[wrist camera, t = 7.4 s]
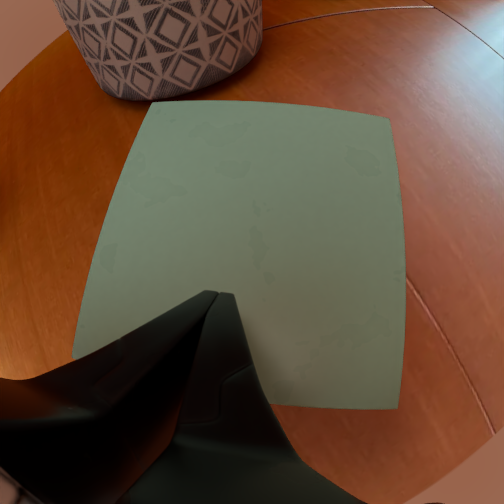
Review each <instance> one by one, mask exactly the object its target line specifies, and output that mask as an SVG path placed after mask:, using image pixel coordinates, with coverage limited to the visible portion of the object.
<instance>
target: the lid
mask: <svg viewBox="0 0 504 504" xmlns="http://www.w3.org/2000/svg"><path fill="white" fill-rule="evenodd" d="M204 290H212V291H218V292H219V293H220V292H227V293H233V294H234V295H235V299H236V303H237V306H238V310H239V313H240V317H241V320H242V324H243V327H244V331H245V335H246V338H247V341H248V345H249V348H250V352H251V355H252V359H253V362H254V365H255V368H256V372H257V375H258V378H259V381H260V384H261V386H262V389H263V391H264V394H265V396H266V398H267V400H268V402H269V404H278V405H288V406H299V407H313V408H330V409H397V408H398V402H399V395H400V386H401V377H402V367H403V355H404V340H405V318H406V260H405V238H404V223H403V211H402V200H401V191H400V182H399V174H398V167H397V160H396V153H395V147H394V141H393V135H392V130H391V124H390V119H389V118H385V117H380V116H374V115H369V114H363V113H357V112H351V111H345V110H338V109H331V108H323V107H315V106H306V105H296V104H284V103H271V102H254V101H218V100H203V101H168V102H153V103H152V104H151V106H150V108H149V110H148V112H147V114H146V116H145V118H144V121H143V123H142V125H141V127H140V129H139V132H138V134H137V136H136V138H135V141H134V143H133V145H132V148H131V150H130V152H129V155H128V157H127V160H126V162H125V165H124V167H123V170H122V172H121V175H120V178H119V180H118V183H117V185H116V188H115V191H114V194H113V196H112V199H111V202H110V205H109V208H108V211H107V214H106V217H105V220H104V223H103V226H102V229H101V232H100V236H99V239H98V242H97V246H96V249H95V253H94V256H93V260H92V263H91V267H90V271H89V275H88V279H87V283H86V287H85V291H84V295H83V299H82V304H81V309H80V313H79V318H78V323H77V328H76V334H75V339H74V345H73V351H72V358H74V359H76V360H77V359H79V358H81V357H84V356H86V355H88V354H90V353H92V352H94V351H96V350H98V349H100V348H102V347H104V346H106V345H108V344H109V343H111V342H113V341H115V340H117V339H120V337H122V336H124V335H126V334H127V333H129V332H131V331H133V330H135V329H136V328H138V327H140V326H142V325H143V324H145V323H147V322H149V321H151V320H152V319H154V318H156V317H158V316H159V315H161V314H163V313H165V312H167V311H168V310H170V309H172V308H174V307H175V306H177V305H179V304H181V303H182V302H184V301H186V300H188V299H190V298H191V297H193V296H195V295H197V294H198V293H200V292H202V291H204Z"/></svg>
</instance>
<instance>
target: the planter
mask: <svg viewBox="0 0 504 504" xmlns="http://www.w3.org/2000/svg"><path fill="white" fill-rule="evenodd" d="M53 2H54V3H55V5H56V7H57V9H58V11H59V13H60V15H61V17H62V19H63V21H64V23H65V25H66V27H67V28H68V30H69V32H70V34H71V36H72V38H73V40H74V41H75V43H76V45H77V47H78V49H79V51H80V52H81V54H82V56H83V58H84V60H85V61H86V63H87V65H88V67H89V69H90V70H91V72H92V74H93V76H94V77H95V79H96V81H97V83H98V84H99V86H100V87H101V89H102V90H103V91H105V92H106V93H107V94H109V95H111V96H113V97H116V98H119V99H123V100H131V101H149V100H159V99H165V98H171V97H175V96H180V95H184V94H187V93H191V92H194V91H197V90H200V89H203V88H205V87H208V86H210V85H213V84H215V83H217V82H219V81H221V80H223V79H225V78H227V77H229V76H231V75H233V74H234V73H236V72H237V71H239V70H240V69H242V68H243V67H244V66H245V65H247V64H248V63H249V62H250V61H251V60H252V59H253V58H254V57H255V55H256V54H257V52H258V51H259V49H260V46H261V43H262V0H53Z"/></svg>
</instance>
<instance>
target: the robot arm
mask: <svg viewBox="0 0 504 504" xmlns="http://www.w3.org/2000/svg"><path fill="white" fill-rule="evenodd" d="M0 504H367V503H365V502H363V501H361V500H359V499H357V498H356V497H354V496H353V495H351V494H349V493H348V492H346V491H345V490H343V489H342V488H340V487H339V486H337V485H335V484H334V483H332V482H331V481H330V480H328V479H327V478H325V477H324V476H322V475H321V474H319V473H318V472H316V471H315V470H314V469H312V468H311V467H309V466H308V465H307V464H306V463H305V462H304V461H303V460H302V459H301V458H300V457H299V456H298V454H297V453H296V451H295V450H294V448H293V447H292V445H291V443H290V442H289V440H288V438H287V436H286V434H285V433H284V431H283V429H282V427H281V425H280V423H279V421H278V420H277V418H276V416H275V414H274V412H273V410H272V408H271V406H270V404H269V402H268V400H267V398H266V396H265V394H264V391H263V389H262V386H261V384H260V381H259V378H258V375H257V372H256V368H255V365H254V362H253V359H252V355H251V352H250V348H249V345H248V341H247V338H246V335H245V331H244V327H243V324H242V320H241V317H240V313H239V310H238V306H237V303H236V299H235V295H234V294H233V293H227V292H220V293H219V292H218V291H212V290H204V291H202V292H200V293H198V294H197V295H195V296H193V297H191V298H190V299H188V300H186V301H184V302H182V303H181V304H179V305H177V306H175V307H174V308H172V309H170V310H168V311H167V312H165V313H163V314H161V315H159V316H158V317H156V318H154V319H152V320H151V321H149V322H147V323H145V324H143V325H142V326H140V327H138V328H136V329H135V330H133V331H131V332H129V333H127V334H126V335H124V336H122V337H120V339H117V340H115V341H113V342H111V343H109V344H108V345H106V346H104V347H102V348H100V349H98V350H96V351H94V352H92V353H90V354H88V355H86V356H84V357H81V358H79V359H77V360H75V361H73V362H70V363H68V364H66V365H63V366H61V367H59V368H56V369H54V370H52V371H49V372H47V373H44V374H42V375H40V376H37V377H34V378H31V379H26V380H11V379H5V378H0ZM427 504H443V503H427Z"/></svg>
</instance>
